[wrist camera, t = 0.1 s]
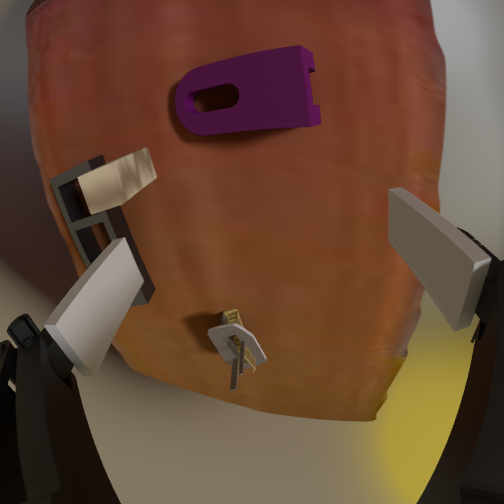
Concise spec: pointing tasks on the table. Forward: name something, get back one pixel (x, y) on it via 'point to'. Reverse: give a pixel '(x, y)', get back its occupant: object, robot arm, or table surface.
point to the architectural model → (236, 345)
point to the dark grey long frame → (82, 222)
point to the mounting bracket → (253, 92)
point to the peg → (117, 180)
